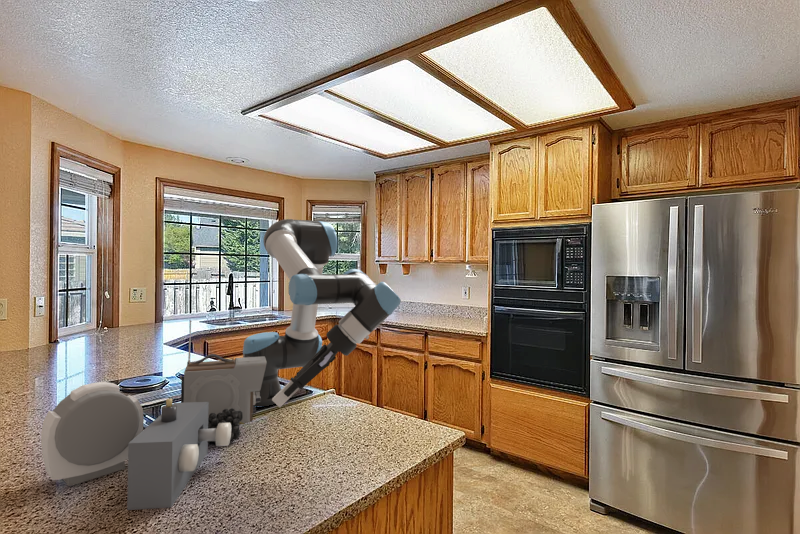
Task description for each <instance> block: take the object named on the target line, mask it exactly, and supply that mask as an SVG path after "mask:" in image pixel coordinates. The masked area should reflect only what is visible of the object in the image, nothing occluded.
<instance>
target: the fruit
mask: <svg viewBox="0 0 800 534" xmlns="http://www.w3.org/2000/svg"><path fill="white" fill-rule="evenodd" d="M242 418H243V413H242V412H241V411H236V410H235V409H233V408H231V409H229V410H228V409H224V410H223V411H222V413H218V414H217V416H216V414H215V413H211V414H210V415H209V418H208V429H211V428H217V426H218V424H219V423H231V439H230V441H233V440H238V439H239V438H240V435H241V429H240V426H241V425H245V423H241V422H240V421H241V420H242ZM211 442H212V443H215V441H208V444H210V443H211Z"/></svg>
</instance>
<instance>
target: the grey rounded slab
mask: <svg viewBox="0 0 800 534" xmlns="http://www.w3.org/2000/svg"><path fill="white" fill-rule="evenodd" d="M142 406H143V405H141V403H140V401H139V399H137V398H135V397H134V396H132V395H130V394H128V395H125V394H124V393H122V392H120V386H119V385H117V384H116V383H113V382H109V381H99V382H91V383H87V384H82V385H81V386H79V387H77V388H74V389H73V390H71V391H70V393H69V394H68V395H67V396H65V397H64V398H63V399H62V400H61V401H59V402H58V404H57V405H56V406H55V407H54V408H53V410H52V411H51V410H48V412H47V413H46V415H45V417H44V419H43V422H42V426H41V430H40V431H41V433H40V445H41V446H40V447H41V454H42V461H43V465H44V469H45V472H46V474H47V475H48V476H49V478H50V479H51V481H58V480H63V481H64V483H65V484H66V485H67V486H68V487H71V486H74V485H77V484H82V483H85V482H87V481H91V480H94V479H96V478H100V477H103V476H106V475H109V474H113V473H117V472H119V471H122V470H125V469H126V461H128V443H129V442H130V441H132V440H133V439H134V438H135V437H136V436H137V435H138V434H140V433H141V432H142V431H143V430H144V419H145V417H144V411H143V407H142Z"/></svg>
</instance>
